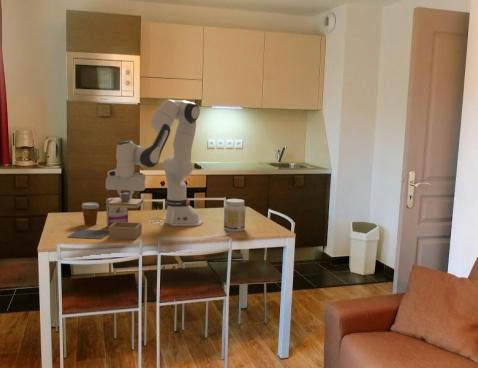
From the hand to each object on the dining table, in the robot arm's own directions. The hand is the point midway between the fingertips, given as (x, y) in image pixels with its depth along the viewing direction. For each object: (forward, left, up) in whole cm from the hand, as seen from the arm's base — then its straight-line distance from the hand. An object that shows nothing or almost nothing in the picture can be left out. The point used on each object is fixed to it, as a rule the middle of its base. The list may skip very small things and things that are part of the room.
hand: (125, 198), depth 254 cm
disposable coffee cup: (+26, -21, -20) cm, 39 cm away
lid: (0, 0, -3) cm, 3 cm away
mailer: (0, 0, -20) cm, 20 cm away
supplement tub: (-56, -24, -20) cm, 64 cm away
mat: (+19, 0, -20) cm, 28 cm away
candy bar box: (+10, -19, -20) cm, 29 cm away
